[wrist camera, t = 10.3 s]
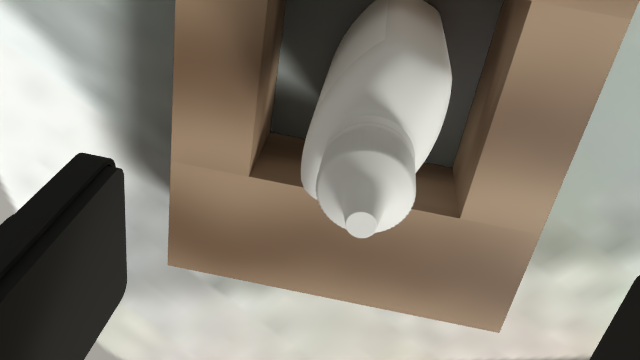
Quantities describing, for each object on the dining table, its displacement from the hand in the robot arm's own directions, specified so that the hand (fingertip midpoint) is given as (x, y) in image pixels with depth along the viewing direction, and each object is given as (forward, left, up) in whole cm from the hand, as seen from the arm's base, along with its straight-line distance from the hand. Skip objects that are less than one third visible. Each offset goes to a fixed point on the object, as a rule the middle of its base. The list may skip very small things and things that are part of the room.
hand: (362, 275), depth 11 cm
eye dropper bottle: (0, 0, -14) cm, 14 cm away
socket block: (+1, 0, -14) cm, 14 cm away
